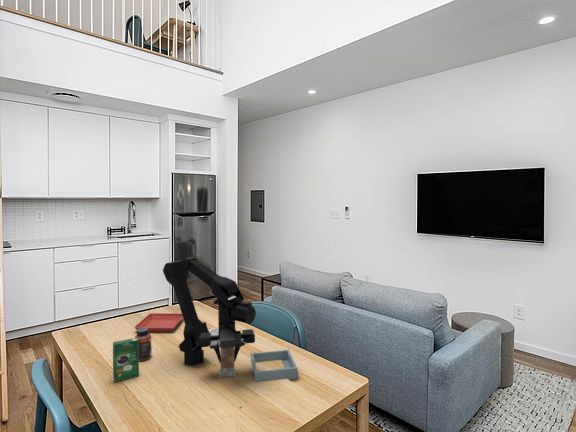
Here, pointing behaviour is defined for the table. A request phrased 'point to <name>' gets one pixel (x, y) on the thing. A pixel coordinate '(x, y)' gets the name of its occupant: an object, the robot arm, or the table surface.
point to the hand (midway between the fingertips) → (227, 361)
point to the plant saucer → (160, 322)
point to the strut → (227, 362)
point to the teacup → (214, 332)
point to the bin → (287, 372)
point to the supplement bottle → (144, 344)
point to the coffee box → (125, 359)
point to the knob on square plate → (228, 376)
